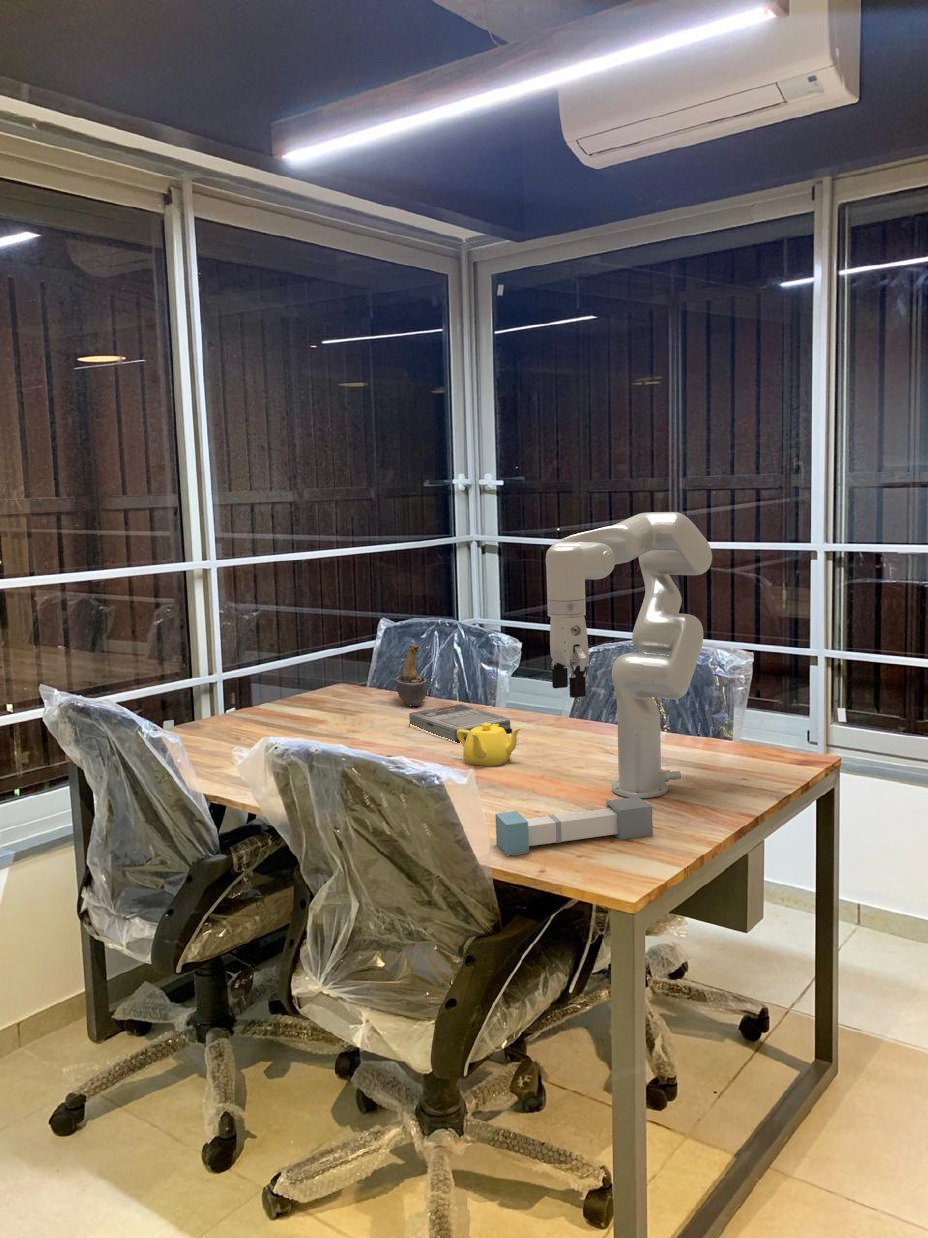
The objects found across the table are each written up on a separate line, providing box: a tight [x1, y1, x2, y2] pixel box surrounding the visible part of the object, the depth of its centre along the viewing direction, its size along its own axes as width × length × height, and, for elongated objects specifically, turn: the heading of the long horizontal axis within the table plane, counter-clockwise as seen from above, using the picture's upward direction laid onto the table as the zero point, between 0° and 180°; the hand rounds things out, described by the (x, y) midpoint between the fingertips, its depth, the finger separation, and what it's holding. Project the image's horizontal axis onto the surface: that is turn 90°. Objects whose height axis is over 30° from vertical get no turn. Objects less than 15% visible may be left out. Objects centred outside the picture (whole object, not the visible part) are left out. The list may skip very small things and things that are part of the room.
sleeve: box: [605, 797, 654, 841], centre depth 201 cm, size 7×7×6 cm
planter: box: [394, 643, 428, 707], centre depth 325 cm, size 15×17×20 cm
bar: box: [524, 808, 618, 847], centre depth 198 cm, size 24×4×4 cm, turn 105°
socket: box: [495, 810, 530, 856], centre depth 195 cm, size 4×7×6 cm, turn 15°
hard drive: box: [408, 703, 513, 743], centre depth 291 cm, size 18×27×4 cm
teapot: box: [457, 723, 523, 766], centre depth 256 cm, size 14×13×10 cm
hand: (568, 692), depth 202 cm, fingers open, 9 cm apart
